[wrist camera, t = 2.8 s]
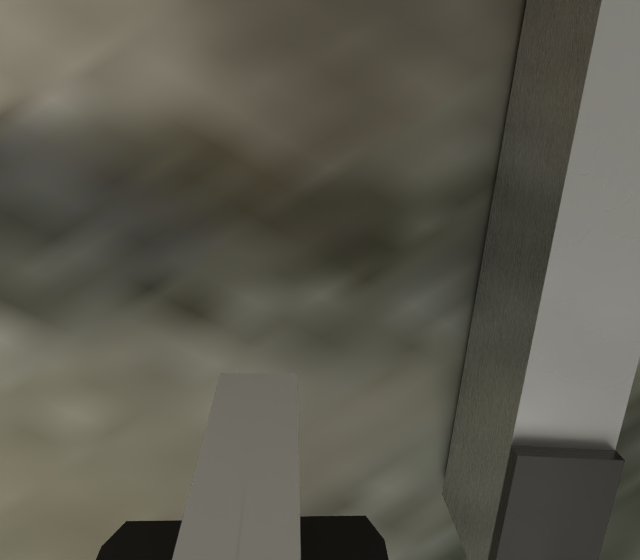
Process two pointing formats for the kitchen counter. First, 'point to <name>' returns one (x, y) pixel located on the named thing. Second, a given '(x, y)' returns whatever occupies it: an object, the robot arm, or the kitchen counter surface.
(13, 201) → the kitchen counter surface
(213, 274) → the kitchen counter surface
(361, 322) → the kitchen counter surface
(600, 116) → the bar
